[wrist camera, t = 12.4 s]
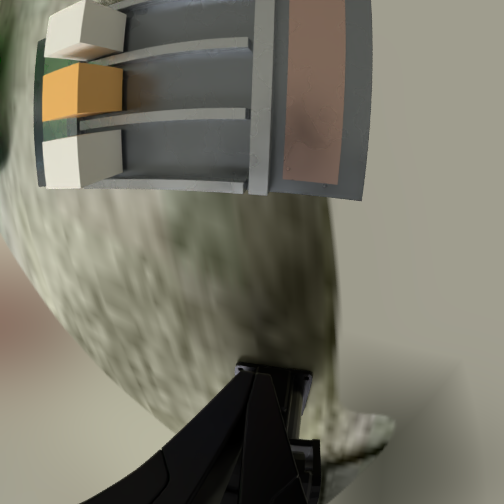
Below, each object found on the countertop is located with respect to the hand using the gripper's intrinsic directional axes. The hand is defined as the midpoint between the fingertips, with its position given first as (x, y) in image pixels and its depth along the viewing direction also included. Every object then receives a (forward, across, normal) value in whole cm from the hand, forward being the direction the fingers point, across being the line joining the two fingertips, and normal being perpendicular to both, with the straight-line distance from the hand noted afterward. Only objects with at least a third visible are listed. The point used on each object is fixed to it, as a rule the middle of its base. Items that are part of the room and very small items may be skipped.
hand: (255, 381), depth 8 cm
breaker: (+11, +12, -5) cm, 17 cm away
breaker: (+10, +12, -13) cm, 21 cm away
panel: (+12, +8, -9) cm, 17 cm away
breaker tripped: (+10, +12, -9) cm, 18 cm away
